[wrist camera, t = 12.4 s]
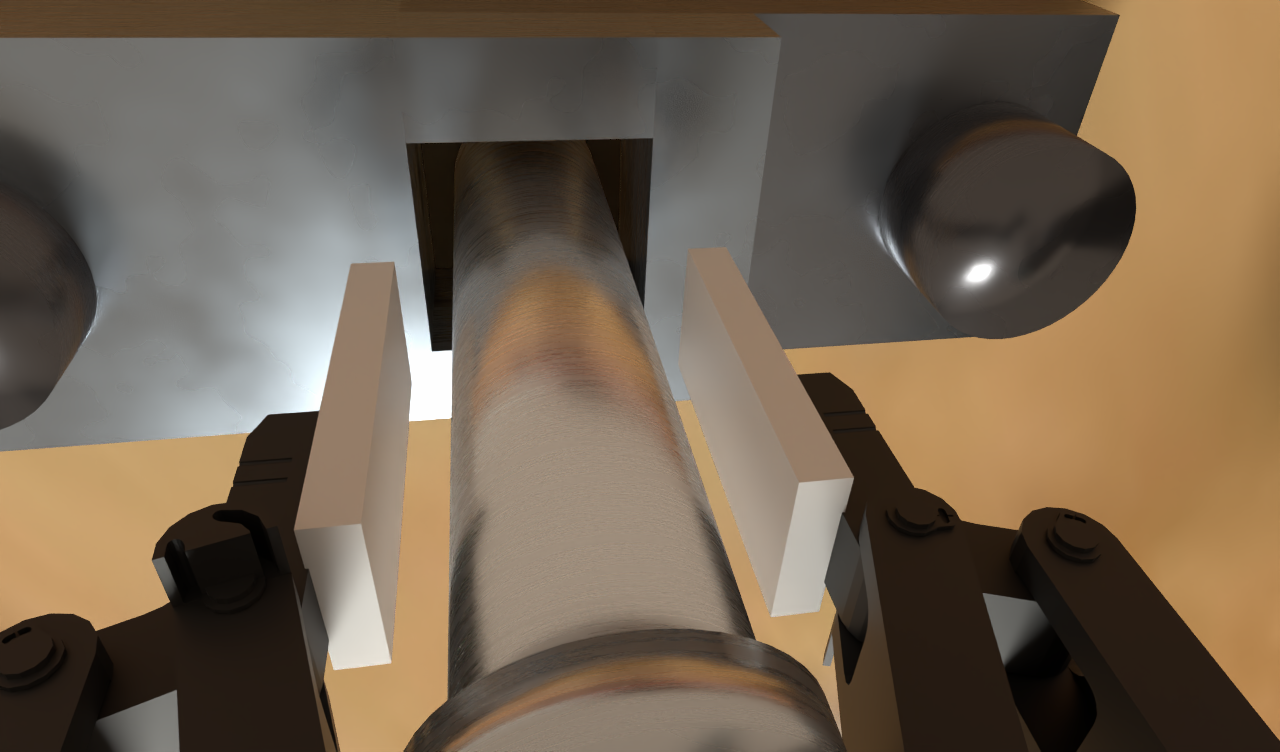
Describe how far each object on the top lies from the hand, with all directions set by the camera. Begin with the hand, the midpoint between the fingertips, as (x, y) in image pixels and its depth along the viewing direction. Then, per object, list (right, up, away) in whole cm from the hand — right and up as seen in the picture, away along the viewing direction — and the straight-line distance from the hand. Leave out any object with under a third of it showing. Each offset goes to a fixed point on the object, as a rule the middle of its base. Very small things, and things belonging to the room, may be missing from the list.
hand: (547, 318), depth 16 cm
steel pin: (-1, +4, +5) cm, 7 cm away
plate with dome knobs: (-1, +4, +5) cm, 7 cm away
